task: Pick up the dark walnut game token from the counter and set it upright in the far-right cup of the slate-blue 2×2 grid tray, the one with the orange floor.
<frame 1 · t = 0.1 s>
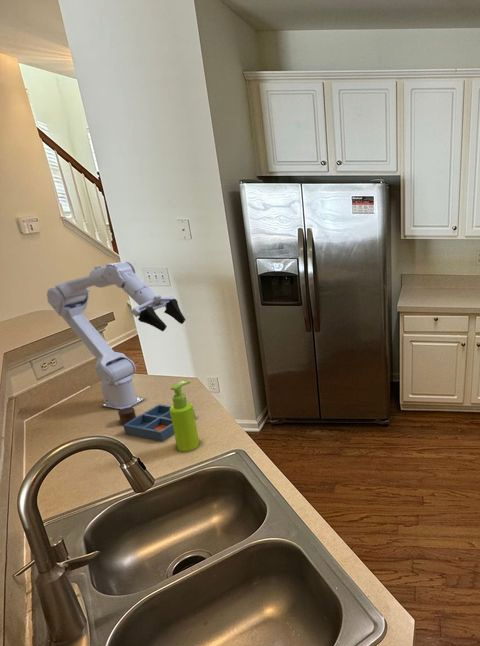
hand: (174, 325, 132), 32 cm above the counter, tool tilted 50°, fingers open, 7 cm apart
grid: (161, 425, 137), on the counter
token: (128, 421, 139), on the counter
soap dispenser: (190, 445, 128), on the counter
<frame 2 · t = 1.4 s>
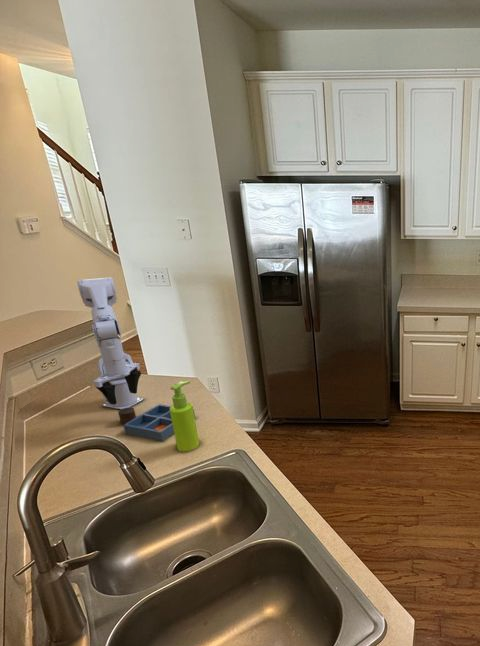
hand: (123, 398, 136), 9 cm above the counter, tool pointing down, fingers open, 7 cm apart
nothing on the counter moved.
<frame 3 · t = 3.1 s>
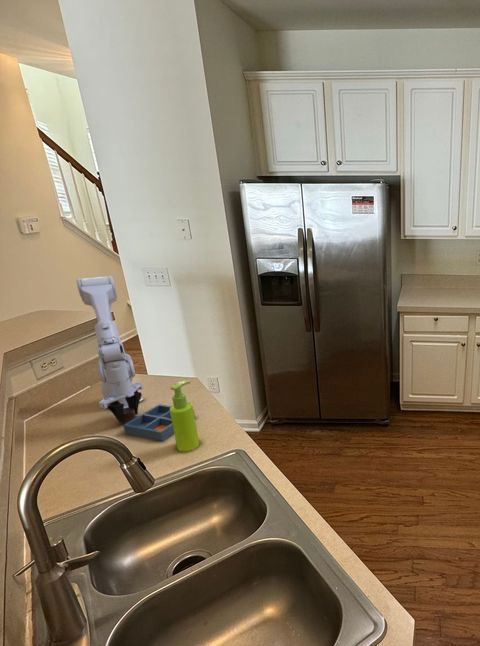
hand: (127, 417, 139), 1 cm above the counter, tool pointing down, fingers closed on token, 4 cm apart
token: (128, 421, 139), on the counter, touching gripper
everything else where it was.
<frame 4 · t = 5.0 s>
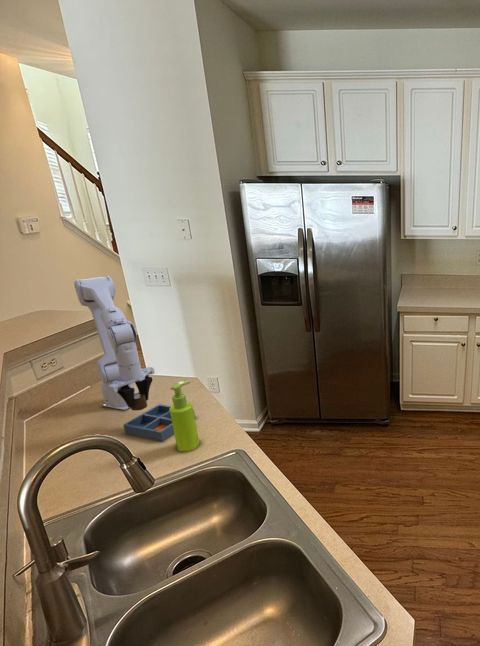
hand: (138, 403, 134), 8 cm above the counter, tool pointing down, fingers closed on token, 4 cm apart
token: (139, 407, 134), point 7 cm above the counter, touching gripper
everything else where it was.
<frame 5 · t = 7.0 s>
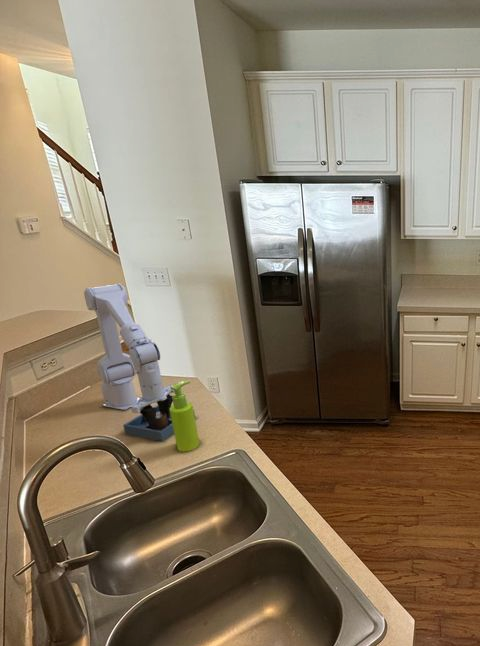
hand: (159, 422, 132), 4 cm above the counter, tool pointing down, fingers closed on token, 4 cm apart
token: (160, 426, 133), point 2 cm above the counter, touching gripper
everything else where it was.
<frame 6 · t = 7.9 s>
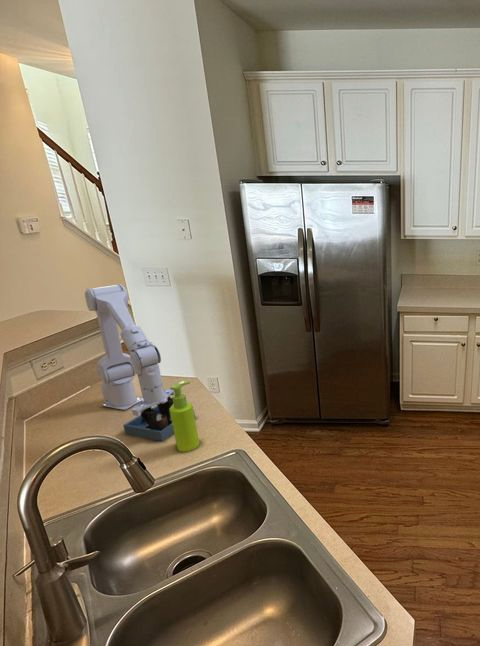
hand: (160, 424, 133), 3 cm above the counter, tool pointing down, fingers closed on token, 4 cm apart
token: (161, 428, 133), point 2 cm above the counter, touching gripper
everything else where it was.
when the fingers open (3 cm above the counter, at t = 11.1 s): token drops 1 cm, resting on grid.
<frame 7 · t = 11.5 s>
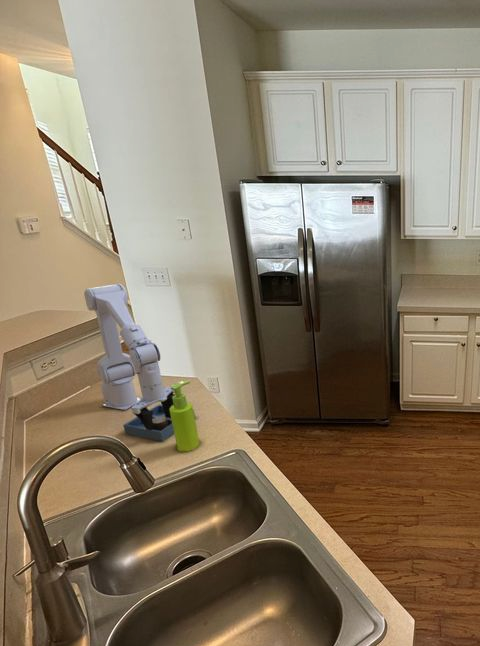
hand: (159, 422, 132), 4 cm above the counter, tool pointing down, fingers open, 7 cm apart
token: (161, 430, 133), point 1 cm above the counter, touching grid
everything else where it was.
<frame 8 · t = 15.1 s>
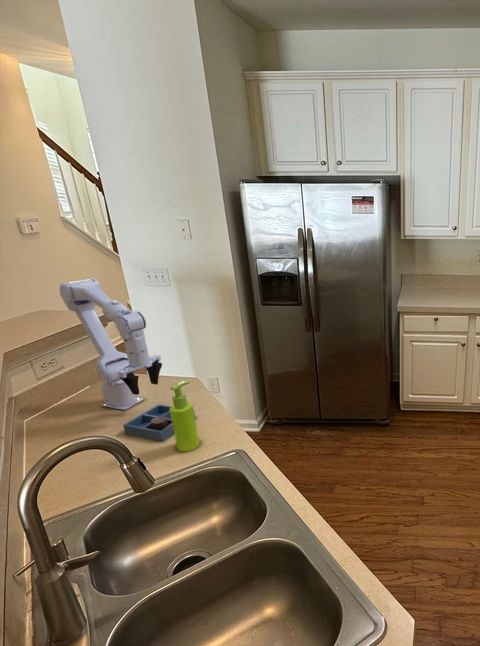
hand: (145, 388, 141), 9 cm above the counter, tool pointing down, fingers open, 7 cm apart
nothing on the counter moved.
at the end: token 0.0 cm from the target spot in the grid, point 0.8 cm above the grid's base; token tilted 0°; the gripper is holding nothing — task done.
